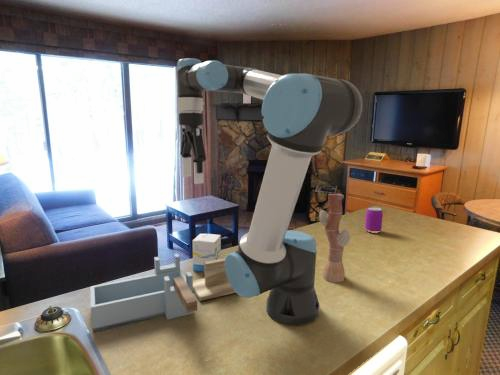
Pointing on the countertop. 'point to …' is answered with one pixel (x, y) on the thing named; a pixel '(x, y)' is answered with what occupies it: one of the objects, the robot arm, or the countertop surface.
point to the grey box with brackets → (139, 298)
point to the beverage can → (374, 219)
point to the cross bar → (185, 294)
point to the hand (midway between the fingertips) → (192, 180)
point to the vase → (334, 238)
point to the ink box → (205, 250)
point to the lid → (213, 281)
